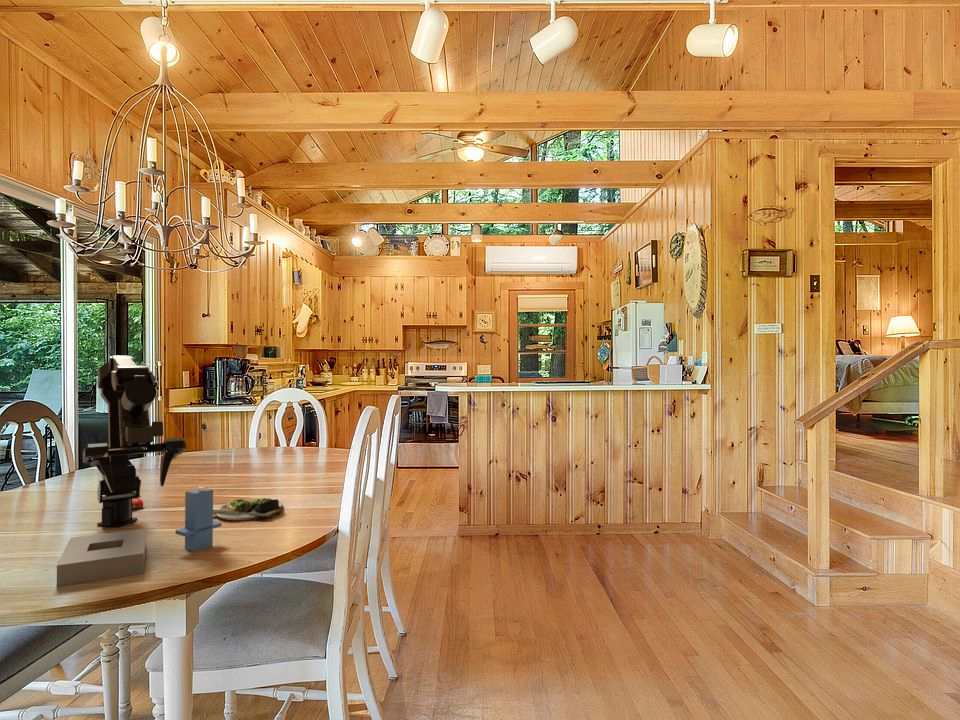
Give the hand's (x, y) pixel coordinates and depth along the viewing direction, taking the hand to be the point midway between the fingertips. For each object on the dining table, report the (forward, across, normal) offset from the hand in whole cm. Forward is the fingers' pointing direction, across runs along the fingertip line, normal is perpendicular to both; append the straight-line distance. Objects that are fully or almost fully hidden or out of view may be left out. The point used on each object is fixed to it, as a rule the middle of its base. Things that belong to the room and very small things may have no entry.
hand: (137, 489), depth 120 cm
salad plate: (+6, +30, +25) cm, 40 cm away
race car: (-4, +5, +51) cm, 51 cm away
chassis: (+14, -6, +6) cm, 16 cm away
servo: (+14, +12, +5) cm, 19 cm away
